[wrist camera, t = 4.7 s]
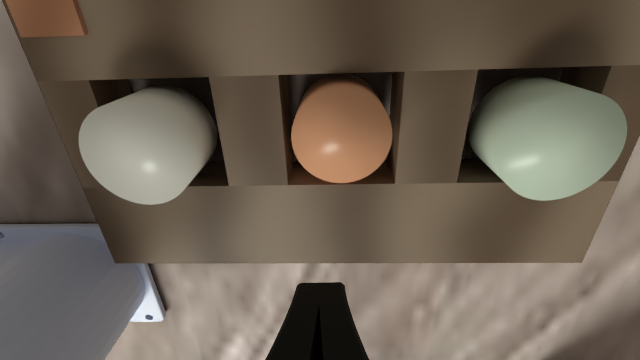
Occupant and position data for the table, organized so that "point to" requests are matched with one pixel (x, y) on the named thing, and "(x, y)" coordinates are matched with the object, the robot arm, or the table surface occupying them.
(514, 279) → the table surface
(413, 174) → the panel
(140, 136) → the cream button
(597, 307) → the table surface
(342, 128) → the terracotta button
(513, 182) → the sage button
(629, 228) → the table surface
